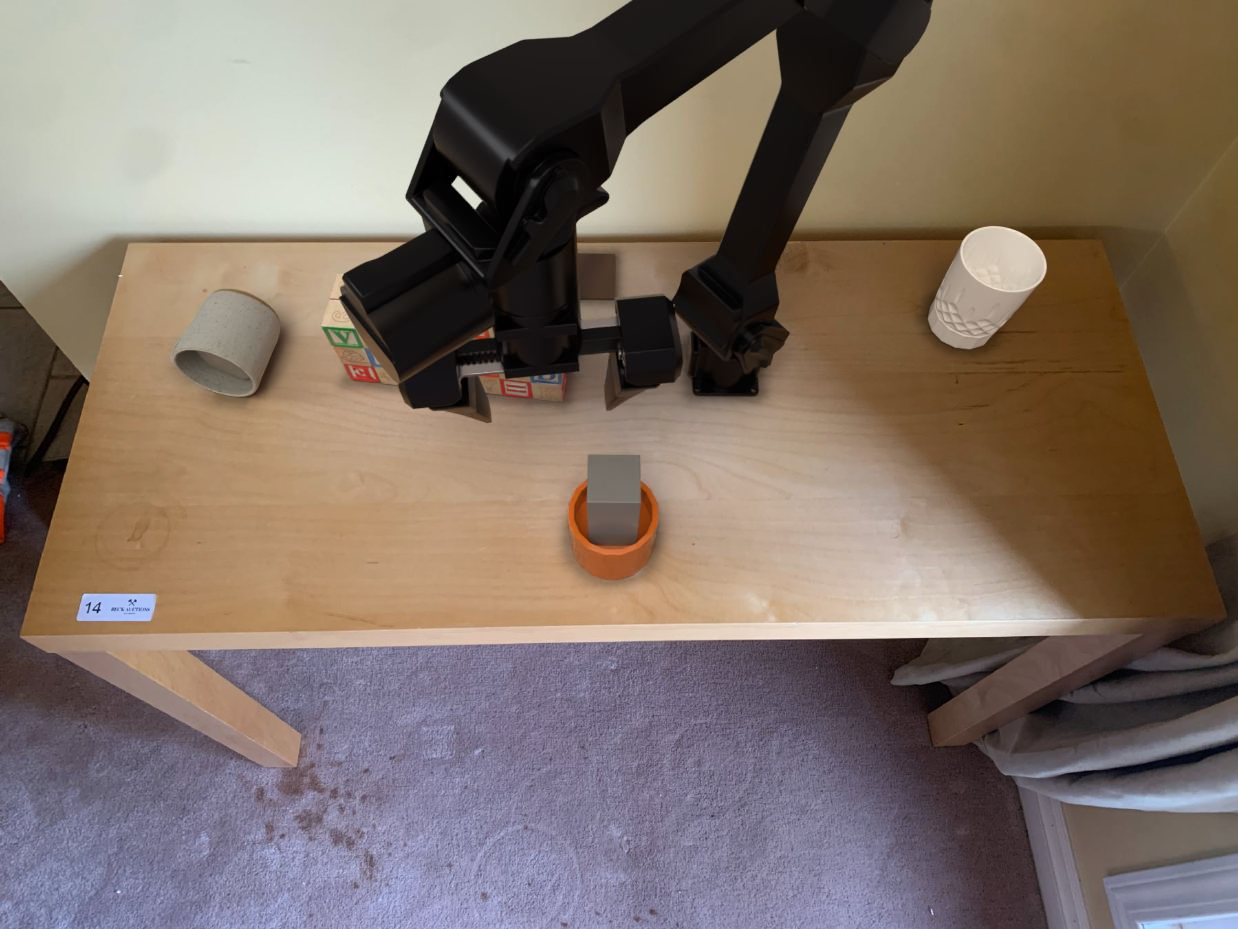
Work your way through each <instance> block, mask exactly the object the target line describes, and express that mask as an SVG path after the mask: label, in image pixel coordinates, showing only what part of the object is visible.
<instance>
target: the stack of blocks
mask: <svg viewBox="0 0 1238 929" xmlns="http://www.w3.org/2000/svg"><path fill="white" fill-rule="evenodd" d="M344 273H345V272H344ZM344 273H343V272H337V274H336V277H335V280H334V284H333V286H332V289H331V292H330V295H329V300H328V303H327V307H326V309H325V312H324V316H323V318H322V322H321V326H320V327H321V329H322V331H323V333H324V335H325V336H326V338H327V340H328V342H329V343H330V346H332V347H333V349H334V351H335V353H336V355H337V357H338V359H339V361H340V363H341V364H342V366H343V368H344V369H345V371H346V373H347V375H348V377H349V379H350V380H351V381H358V382H371V383H381V384H383V385H392V386H394V385H395V386H398V383H397V382H395V381H394V380H393V379H392V378H391V377H390V376H389V375H388V373H387V372H386V371H385V370H384V369H383V367H382V366H381V365H380V363H379V362H378V361H377V359H376V358H375V357H374V355H373V354H372V353H371V351H370V350H369V348H368V347H367V345H366V344H365V342H364V341H363V339H362V338H361V336H360V335H359V333H358V332H357V330H356V328H355V327H354V325H353V324H352V322H351V320H350V318H349V317H348V315H347V313H346V311H345V309H344V308H343V306H342V304H341V302H340V299H339V297H340V296H341V295H342V294H341V291H340V286H342V285H344V282H343V280H342V276H343V274H344ZM484 338H494V333H493V329H492V328H490V329H488V330H487V331H485V332H483V333H482V334H480V335H479V336H477V337H475V338H474V339H484ZM474 339H472V340H474ZM479 378H480V381H481V383H482V385H483V388H484V390H485V392H486V394H492V395H493V394H494V395H502V396H505V397H513V398H523V399H524V398H525V399H534V400H539V401H540V400H541V401H550V402H551V401H552V402H564V400H565V394H566V388H567V380H568V373H562V374H552V375H542V376H532V377H522V378H512V379H505V374H495V375H485V376H479Z"/></svg>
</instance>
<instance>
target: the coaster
mask: <svg viewBox="0 0 1238 929" xmlns="http://www.w3.org/2000/svg"><path fill="white" fill-rule="evenodd" d="M615 257H616V254H615V253H605V252H604V253H602V252H601V253H598V252H597V253H596V252H595V253H593V252H589V253H588V252H578V269H579V289H580V301H584V300H585V301H593V300H594V301H615V292H616V291H615V289H616V288H615V287H616V286H615V282H616V281H615V280H616V279H615V278H616V276H615V275H616V274H615V272H616V271H615V268H616V258H615Z"/></svg>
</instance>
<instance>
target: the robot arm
mask: <svg viewBox="0 0 1238 929" xmlns="http://www.w3.org/2000/svg"><path fill="white" fill-rule="evenodd" d="M933 2H934V0H629V1H628V2H627V3H625V4H624V5H622V6H620V7H619V8H618V9H616V10H614V11H613V12H611V13H610V14H609V15H607V16H605V17H604V18H603V19H601V20H600V21H598V22H597V23H595V24H594V25H592V26H591V27H588V28H587V29H584V30H582V31H579V32H577V33H575V34H573V35H570V36H557V37H542V38H541V37H540V38H525V39H520V40H518V41H516V42H513V43H512V44H509V45H506V46H505V47H503V48H500V49H498V50H496V51H493V52H491V53H489V54H486V55H484V56H482V57H480V58H478V59H476V60H472V61H471V62H470V63H467V64H466V65H464V66H463V67H461V68H460V69H459V70H458V71H457V72H455V73H454V75H452V76H450V78H449V79H448V80H447V81H446V82H445V84H444V85H443V87H442V88H441V89H440V91H439V98H440V101H439V104H438V107H437V109H436V111H435V115H434V118H433V120H432V123H431V126H430V129H429V131H428V134H427V137H426V139H425V141H424V144H423V147H422V150H421V152H420V154H419V158H418V161H417V163H416V166H415V168H414V171H413V173H412V177H411V179H410V181H409V182H410V183H409V184H408V187H407V189H406V192H405V194H404V199H405V200H406V201H407V202H408V204H410V206H411V207H412V208H413V209H414V211H416V212H417V214H418V215H419V216H420V217H421V220H422V224H423V227H424V231H425V232H423V233H421V234H419V235H416V236H415V237H413V238H411V239H410V240H408V241H406V242H404V243H402V244H401V245H399V246H397V247H395V248H394V249H392V250H390V251H388V252H386V253H384V254H382V255H380V256H378V257H376V258H373V259H371V260H367V261H364V262H362V263H361V264H359V265H357V266H355V267H353V268H351V269H349V270H347V271H345V272H344V274H343V276H342V280H343V282H344V285H342V286H340V291H341V294H342V295H341V296H340V297H339V299H340V302H341V304H342V306H343V308H344V309H345V311H346V313H347V315H348V317H349V318H350V320H351V322H352V324H353V325H354V327H355V328H356V330H357V332H358V333H359V335H360V336H361V338H362V339H363V341H364V342H365V344H366V345H367V347H368V348H369V350H370V351H371V353H372V354H373V355H374V357H375V358H376V359H377V361H378V362H379V363H380V365H381V366H382V367H383V369H384V370H385V371H386V372H387V373H388V375H389V376H390V377H391V378H392V379H393V380H394V381H395V382H397V383H398V385H397V387H398V391H399V393H400V395H401V397H402V400H403V402H404V404H406V405H407V406H408V407H410V408H411V409H412V410H418V409H429V410H430V411H431V412H446V413H452V414H455V415H460V416H463V417H466V418H469V419H473V420H476V421H479V422H481V423H484V424H492V422H493V417H492V409H491V405H490V399H489V396H488V395H487V393H486V392H485V390H484V388H483V385H482V383H481V381H480V378H479V376H485V375H495V374H505V379H512V378H522V377H532V376H542V375H552V374H562V373H567V374H570V373H571V374H572V373H579V372H580V360H579V357H581V356H590V355H592V356H593V355H600V354H602V355H603V354H608V360H607V366H606V372H605V379H604V386H603V395H604V406H605V411H606V412H611V411H613V410H614V409H616V408H617V407H619V406H621V405H622V404H624V403H625V402H627V401H629V400H630V399H632V398H634V397H636V396H638V395H640V394H642V393H644V392H647V391H649V390H655V389H658V388H659V387H660V386H661V385H665V384H673V383H676V381H678V380H679V378H680V377H681V375H682V371H683V364H684V356H683V352H684V351H683V345H682V341H681V336H680V330H679V325H678V321H677V317H678V319H680V320H681V321H682V322H683V323H684V324H685V325H686V326H687V327H688V328H689V329H690V330H691V331H690V332H689V338H688V344H687V350H686V366H687V368H686V370H687V371H686V372H687V375H688V376H689V377H691V391H692V394H693V395H694V396H697V397H707V396H708V397H756V396H758V395H759V392H760V386H759V376H758V375H759V372H760V369H767V368H768V367H770V366H771V365H772V362H773V358H774V355H775V354H776V353H777V352H779V351H780V350H781V349H782V348H783V347H784V346H785V344H786V341H787V339H788V337H789V336H790V334H791V332H790V331H789V330H788V329H787V328H786V327H785V326H784V325H783V324H782V323H781V322H779V321H778V320H777V319H776V318H775V317H776V314H777V312H778V309H779V306H780V296H779V288H778V283H777V282H778V281H777V275H776V269H777V266H778V264H779V261H780V260H781V257H782V255H783V253H784V251H785V249H786V246H787V244H788V242H789V240H790V238H791V236H792V234H793V232H794V229H795V228H796V226H797V223H798V221H799V219H800V217H801V215H802V213H803V211H804V208H805V206H806V204H807V202H808V200H809V198H810V196H811V193H812V192H813V190H814V187H815V185H816V183H817V181H818V178H819V177H820V175H821V173H822V170H823V169H824V166H825V164H826V162H827V160H828V158H829V156H830V154H831V152H832V149H833V147H834V145H835V144H836V140H837V139H838V136H839V135H840V132H841V130H842V128H843V126H844V124H845V122H846V120H847V117H848V116H849V113H850V111H851V109H852V108H853V106H854V104H855V103H857V102H859V101H860V100H861V99H863V98H864V97H866V96H867V95H869V94H870V93H871V92H874V90H876V89H878V88H879V87H881V86H882V85H883V84H885V83H886V82H888V81H889V80H891V79H892V78H893V77H894V76H895V74H896V73H897V71H898V70H899V68H900V67H901V65H902V63H903V61H904V59H905V58H906V57H907V56H909V55H910V53H912V51H913V50H914V49H915V47H917V45H918V44H919V42H920V41H921V39H922V37H923V35H924V34H925V32H926V31H927V28H928V26H929V23H930V21H931V16H932V7H933ZM774 31H775V41H776V49H777V57H778V66H779V74H780V87H779V89H778V92H777V95H776V97H775V100H774V101H773V102H774V103H773V105H772V108H771V110H770V112H769V115H768V118H767V120H766V123H765V125H764V129H763V131H762V133H761V136H760V137H759V138H760V139H759V141H758V144H757V146H756V149H755V151H754V153H753V157H752V159H751V162H750V164H749V166H748V170H747V172H746V175H745V178H744V180H743V182H742V185H741V188H740V190H739V193H738V196H737V198H736V201H735V203H734V206H733V209H732V210H731V214H730V216H729V219H728V222H727V224H726V226H725V230H724V232H723V233H722V234H723V235H722V237H721V240H720V242H719V244H718V245H719V246H718V248H717V249H716V252H715V253H714V254H712V255H710V256H709V257H707V258H706V259H703V260H702V261H700V262H699V263H697V264H695V265H694V266H692V267H691V268H687V269H686V270H684V271H683V272H682V273H681V276H680V281H679V286H678V288H677V289H676V292H675V294H674V296H673V297H672V299H670V298H669V297H668V296H666V295H665V294H664V293H653V294H642V295H631V296H621V297H614V313H615V316H612V317H610V316H609V317H601V318H591V319H590V318H589V319H582V313H581V312H582V311H581V309H582V308H581V300H580V289H579V269H578V253H579V252H578V232H577V223H578V222H579V221H580V220H581V219H582V218H584V217H586V216H588V215H589V214H591V213H593V212H595V211H596V210H598V209H600V208H601V207H603V206H605V205H606V204H607V203H608V202H609V201H610V198H611V197H610V193H609V192H608V191H607V190H606V189H605V188H604V187H602V186H603V185H604V184H605V183H606V182H607V181H608V180H609V179H610V178H611V177H612V176H613V172H614V169H615V168H616V165H617V162H618V160H619V157H620V155H621V152H622V150H623V147H624V144H625V142H626V140H627V138H628V137H629V136H630V135H631V134H632V133H633V132H635V130H637V129H638V128H639V127H640V126H642V124H644V123H645V122H646V121H648V120H649V119H651V118H652V117H653V116H655V115H656V114H658V113H659V112H660V111H662V110H663V109H664V108H666V107H667V106H669V105H670V104H672V103H673V102H674V101H676V100H678V99H680V97H682V96H683V95H684V94H686V93H687V92H689V91H690V90H692V89H693V88H694V87H696V86H697V85H699V84H700V83H701V82H703V81H704V80H706V79H707V78H709V77H710V76H712V75H713V74H714V73H716V72H717V71H718V70H720V69H722V68H723V67H724V66H726V65H727V64H729V63H730V62H732V61H733V60H734V59H736V58H738V57H739V56H740V55H741V54H743V53H744V52H746V51H747V50H748V49H750V48H751V47H753V46H755V45H756V44H757V43H759V42H760V41H762V40H763V39H765V37H767V36H768V35H770V34H772V33H773V32H774ZM457 178H460V179H461V181H463V182H464V184H465V185H466V186H467V187H468V188H469V189H470V190H471V191H472V192H473V193H474V194H475V195H476V196H477V197H478V198H479V199H480V200H481V201H480V203H479V204H478V205H477V206H476V208H474V207H473V206H472V204H471V203H470V202H469V201H468V200H467V199H466V198H465V197H464V196H463V195H462V194H461V193H460V191H458V189H457V188H456V187H454V186H453V184H454V182H455V181H456V179H457ZM490 328H492V329H493V333H494V338H484V339H474V338H475V337H477V336H479V335H480V334H482V333H483V332H485V331H487V330H488V329H490ZM472 339H474V340H472Z"/></svg>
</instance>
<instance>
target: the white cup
mask: <svg viewBox="0 0 1238 929" xmlns="http://www.w3.org/2000/svg"><path fill="white" fill-rule="evenodd" d="M1047 269H1048V267H1047V260H1046V256H1045V254H1044V252H1043V250H1042V249H1041V247H1039V245H1038V244H1037V243H1036V242H1035V241H1034V240H1033V239H1031V238H1030V237H1029V236H1027V235H1026V234H1024V233H1022V232H1020V231H1018V230H1016V229H1013V228H1009V227H1005V226H1001V225H1000V226H999V225H989V226H983V227H979V228H976V229H974V230H973V231H970V232H969V233H968V234H967V235H966V236H965V237H964V238H963V240H962V242H961V244H960V246H959V248H958V250H957V252H956V254H955V256H954V258H953V260H952V262H951V263H950V265H949V267H948V269H947V271H946V273H945V275H944V278H943V280H942V282H941V284H940V285H939V287H938V290H937V292H936V295H935V297H934V299H933V302H932V303H931V305H930V307H929V311H928V315H927V322H928V324H929V328H930V330H931V332H932V333H933V334H934V336H936V337H937V338H938V339H939V340H940V342H942V343H944V344H946V345H948V346H950V347H953V348H955V349H963V350H972V349H976V348H980V347H983V346H985V345H986V343H987V342H988V341H990V340H991V338H993V336H994V335H995V333H997V331H998V330H999V329H1001V328H1002V327H1003V326H1004V325H1005V324H1006V323H1007V321H1009V320H1010V318H1011V317H1012V316H1013V315H1014V313H1016V312H1017V311H1018V310H1019V309H1020V307H1021V306H1022V305H1023V304H1024V303H1025V301H1026V300H1027V299H1028V298H1029V297H1030V295H1031V294H1032V293H1033V292H1034V291H1035V290H1036V289H1037V287H1038V286H1039V285H1040V284H1041V283H1042V282H1043V280H1044V278H1045V276H1046V274H1047Z"/></svg>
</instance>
